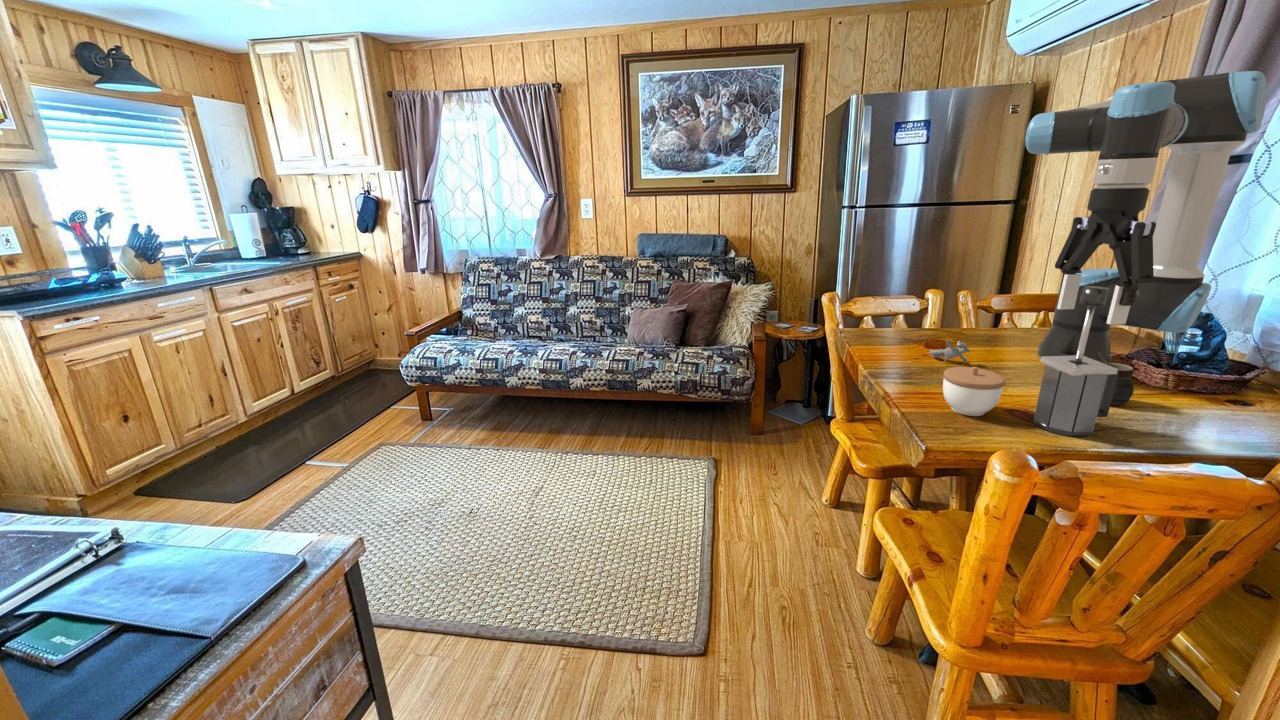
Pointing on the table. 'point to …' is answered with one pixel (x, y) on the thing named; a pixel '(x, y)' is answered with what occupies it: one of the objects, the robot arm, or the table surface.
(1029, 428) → the table surface
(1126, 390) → the mate gourd
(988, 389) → the lidded jar
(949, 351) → the grey animal figurine
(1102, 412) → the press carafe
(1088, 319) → the plunger
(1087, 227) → the robot arm
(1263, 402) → the table surface
